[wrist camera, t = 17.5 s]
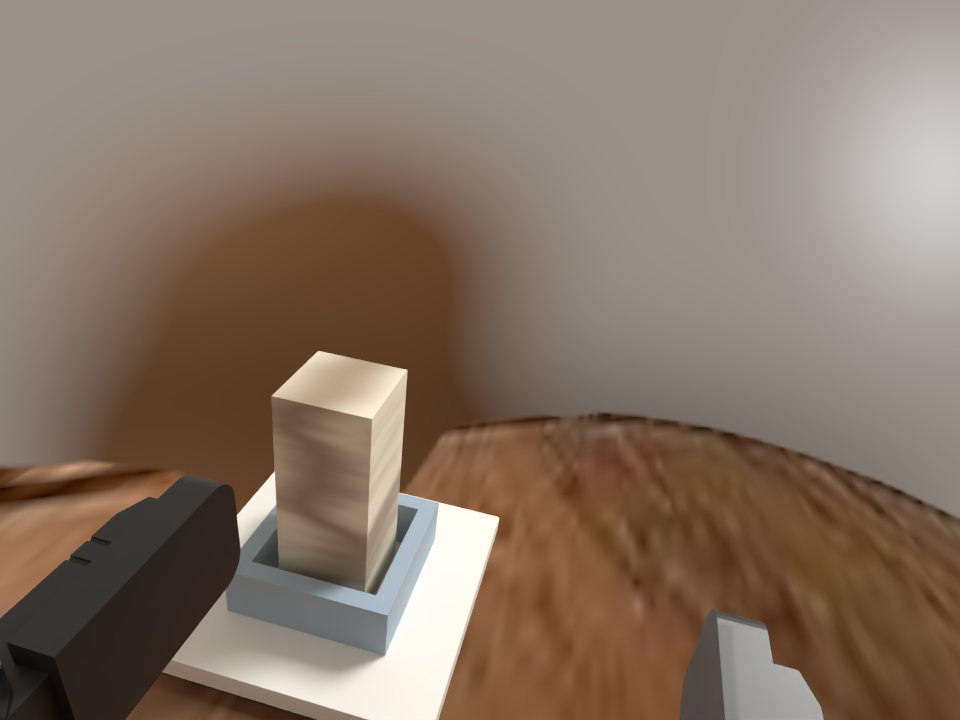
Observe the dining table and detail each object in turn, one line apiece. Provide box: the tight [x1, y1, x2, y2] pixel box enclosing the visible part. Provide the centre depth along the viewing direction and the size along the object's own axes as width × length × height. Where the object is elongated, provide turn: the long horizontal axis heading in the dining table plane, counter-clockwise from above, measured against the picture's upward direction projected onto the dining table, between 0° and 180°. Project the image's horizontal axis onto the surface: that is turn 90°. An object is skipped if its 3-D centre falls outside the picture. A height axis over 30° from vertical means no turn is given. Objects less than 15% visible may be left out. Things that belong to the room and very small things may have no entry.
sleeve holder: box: [162, 472, 499, 720], centre depth 38 cm, size 16×16×4 cm
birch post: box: [272, 351, 407, 595], centre depth 36 cm, size 5×5×13 cm
